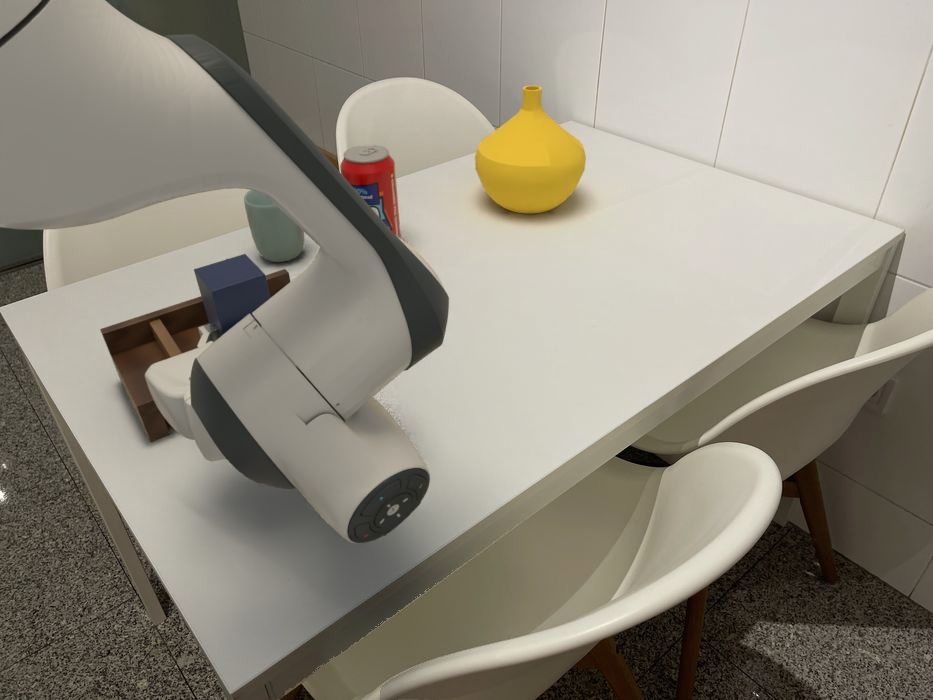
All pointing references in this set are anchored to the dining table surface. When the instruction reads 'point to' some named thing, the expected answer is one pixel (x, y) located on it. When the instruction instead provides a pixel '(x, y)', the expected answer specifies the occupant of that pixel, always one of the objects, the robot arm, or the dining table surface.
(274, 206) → the cup
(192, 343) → the wooden divided tray
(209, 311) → the navy block
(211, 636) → the dining table surface
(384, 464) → the robot arm
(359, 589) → the dining table surface
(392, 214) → the soda can
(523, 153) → the vase
